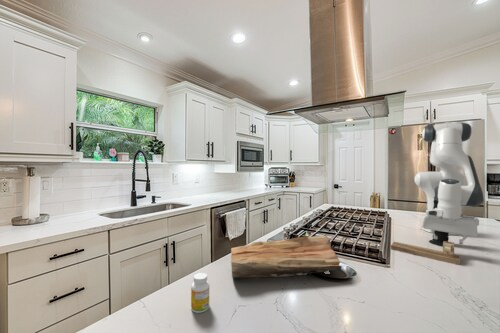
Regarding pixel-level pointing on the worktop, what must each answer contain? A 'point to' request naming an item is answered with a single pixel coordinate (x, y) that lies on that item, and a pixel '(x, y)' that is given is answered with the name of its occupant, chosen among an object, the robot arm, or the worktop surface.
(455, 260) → the board
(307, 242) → the log
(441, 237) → the handle grip
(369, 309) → the worktop surface
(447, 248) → the beige mallet
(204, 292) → the supplement bottle
